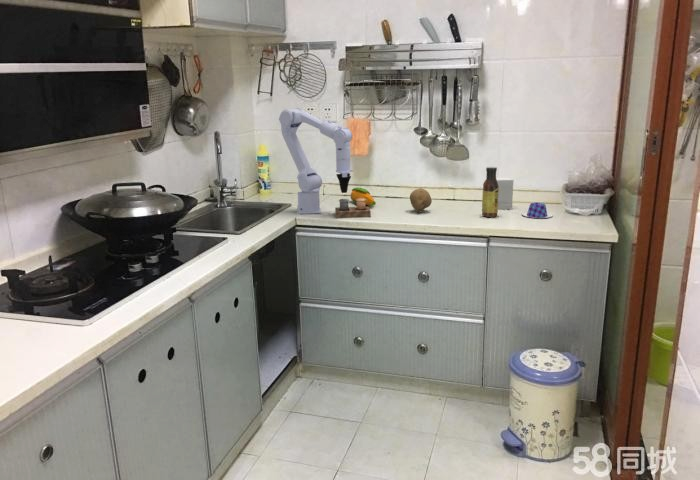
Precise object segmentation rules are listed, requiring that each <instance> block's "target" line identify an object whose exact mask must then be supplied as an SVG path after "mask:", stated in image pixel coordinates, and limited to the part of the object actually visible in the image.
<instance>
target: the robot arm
mask: <svg viewBox="0 0 700 480" xmlns="http://www.w3.org/2000/svg"><path fill="white" fill-rule="evenodd" d="M278 121H279V123H280V125H281V136H282V138H283V140H284V142H285V143H286V144H285V145H286V147H287V149H288V150H289V153H290V156H291V157H292V159H293V162H294V164H295V166H296V169H297V170H298V173H297V176H296V179H297V182H298V188H299V189H300V191H298V192H297V209H298V215H304V214H305V215H306V214H321V213H322V210H321V204H320V203H321V202H320V201H321V200H320V199H321V198H320V189H321V187H322V185H323V180H322V177H321V176H320V175H319V174H318V172H317V170H315V168H313V167H311V164H310V163H309V162H310V161H309V160H308V157H307V155H306V153H305V151H304V149H303V146H302V145H301V141H300V140H299V138H298V135H297V131H298V129H299V127H300V126H302V124H303V123H304V124H307V125H309V126H311V127H313V128H316V129H318V130H319V132H320V134H322V135H323V136H326V137H328V138H330V139H331V140H332V141H333V142H334V144H335V162H336V165H335V166H336V169H335V172H336V178H337V181H338V183H339V190H340V191H341V192H340V193H342V194H344V193H345V194H346V193H348V187H349V183H350V180H351V178H352V176H351V172H354V169H353V168H351V141H352V139H353V133H352V130H350V129H349V128H348V127H344V128H343V127H342V125H337V124H335V123H334V122H333V121H332V120H331V119H330V120H324V121H322V120H321V119H320V118H317V117H315V116H314V115H312V114H310V113H308V112H307V111H306V110H303V109H301V108H294V109H293V108H291V109H284V110H282V111H281V112H280V115H279V117H278Z"/></svg>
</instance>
